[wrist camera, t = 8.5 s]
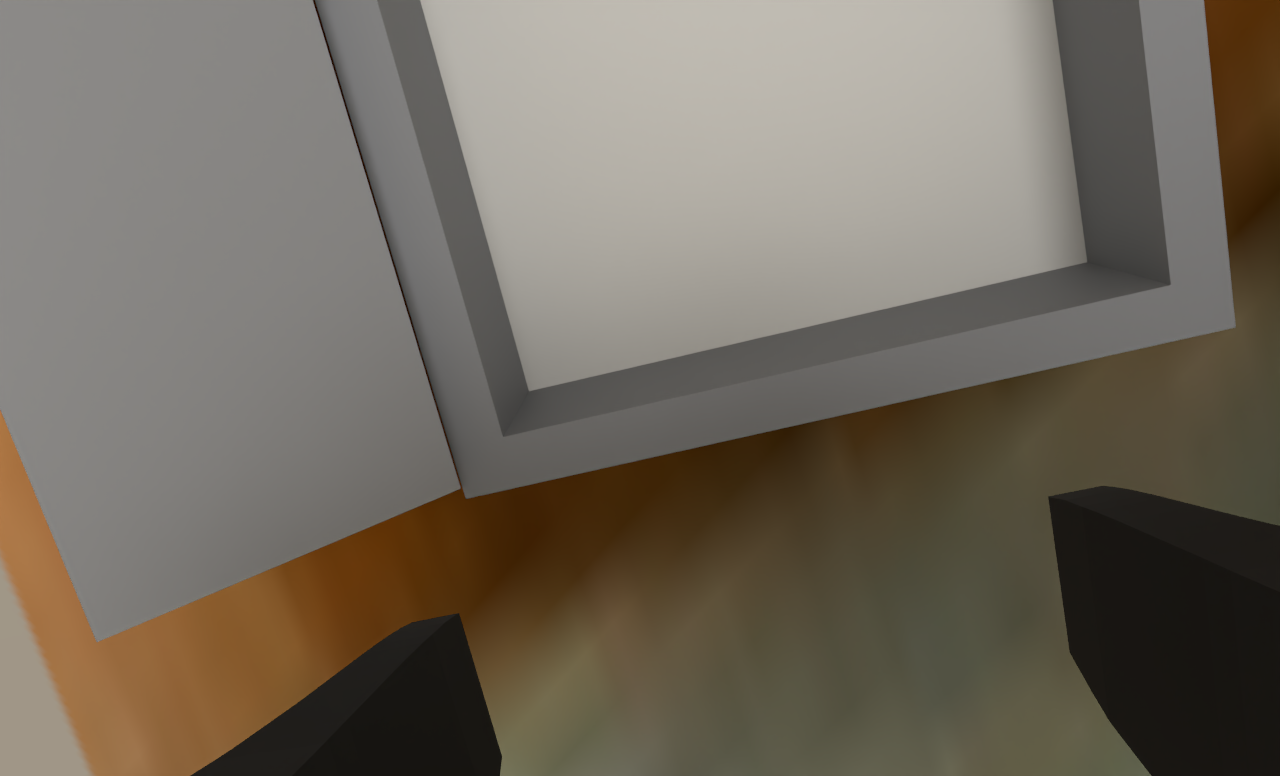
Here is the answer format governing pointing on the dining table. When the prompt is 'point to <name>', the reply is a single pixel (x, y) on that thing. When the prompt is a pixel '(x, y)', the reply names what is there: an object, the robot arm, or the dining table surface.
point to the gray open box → (774, 206)
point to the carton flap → (197, 300)
